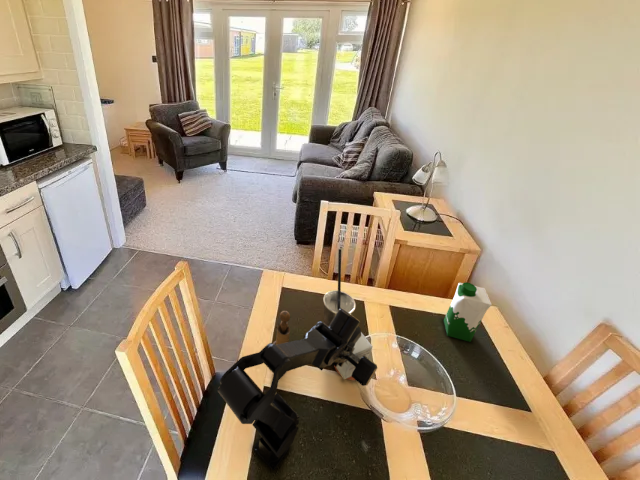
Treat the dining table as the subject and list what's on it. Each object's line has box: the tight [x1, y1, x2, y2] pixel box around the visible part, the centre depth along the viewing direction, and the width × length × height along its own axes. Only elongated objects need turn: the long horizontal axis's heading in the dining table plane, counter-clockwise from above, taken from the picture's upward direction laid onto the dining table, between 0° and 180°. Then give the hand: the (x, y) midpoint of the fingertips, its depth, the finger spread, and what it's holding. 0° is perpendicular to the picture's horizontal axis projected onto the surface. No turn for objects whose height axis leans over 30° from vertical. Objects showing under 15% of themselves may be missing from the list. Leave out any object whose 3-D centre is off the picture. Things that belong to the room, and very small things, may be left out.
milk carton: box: [443, 281, 493, 343], centre depth 105 cm, size 9×9×20 cm
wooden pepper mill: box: [272, 310, 291, 345], centre depth 96 cm, size 7×6×18 cm
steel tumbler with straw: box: [323, 248, 357, 327], centre depth 101 cm, size 11×11×30 cm
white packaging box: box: [336, 331, 373, 380], centre depth 94 cm, size 7×7×13 cm
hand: (349, 352), depth 93 cm, fingers open, 9 cm apart
